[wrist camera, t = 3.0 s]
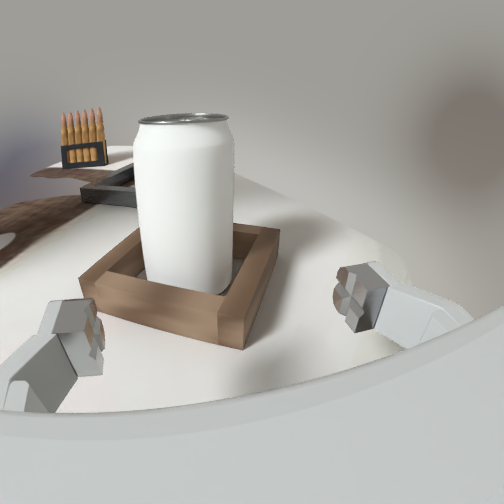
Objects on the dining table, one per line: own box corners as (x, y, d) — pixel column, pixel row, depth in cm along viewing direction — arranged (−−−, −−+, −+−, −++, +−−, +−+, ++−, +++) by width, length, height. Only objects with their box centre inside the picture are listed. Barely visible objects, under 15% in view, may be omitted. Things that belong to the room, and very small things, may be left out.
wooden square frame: (87, 307, 20) (78, 278, 19) (159, 237, 30) (157, 213, 28) (242, 350, 18) (244, 318, 16) (277, 255, 28) (280, 229, 26)
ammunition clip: (108, 163, 57) (105, 106, 52) (105, 165, 56) (101, 107, 50) (66, 166, 57) (61, 113, 51) (62, 169, 56) (57, 114, 50)
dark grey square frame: (81, 201, 38) (79, 188, 37) (135, 173, 50) (134, 162, 49) (168, 211, 35) (167, 194, 34) (211, 178, 47) (211, 166, 46)
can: (132, 296, 21) (110, 125, 16) (169, 253, 27) (161, 113, 21) (217, 314, 20) (216, 122, 15) (241, 264, 26) (246, 113, 20)
